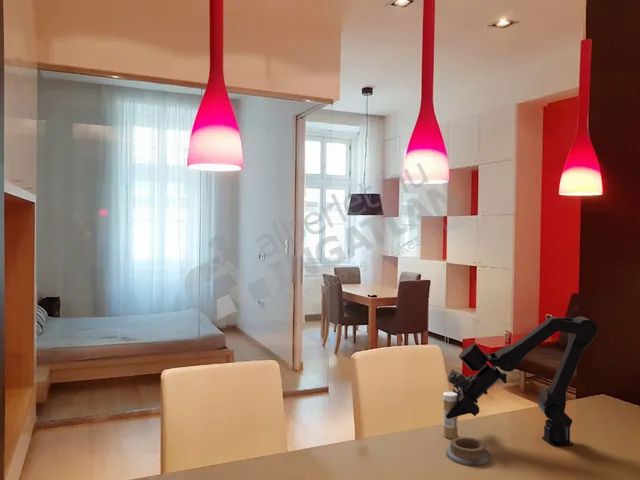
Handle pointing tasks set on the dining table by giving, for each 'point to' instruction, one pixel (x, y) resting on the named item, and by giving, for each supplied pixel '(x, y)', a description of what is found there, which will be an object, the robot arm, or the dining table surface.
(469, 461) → the collar socket
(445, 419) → the sprinkles bottle
